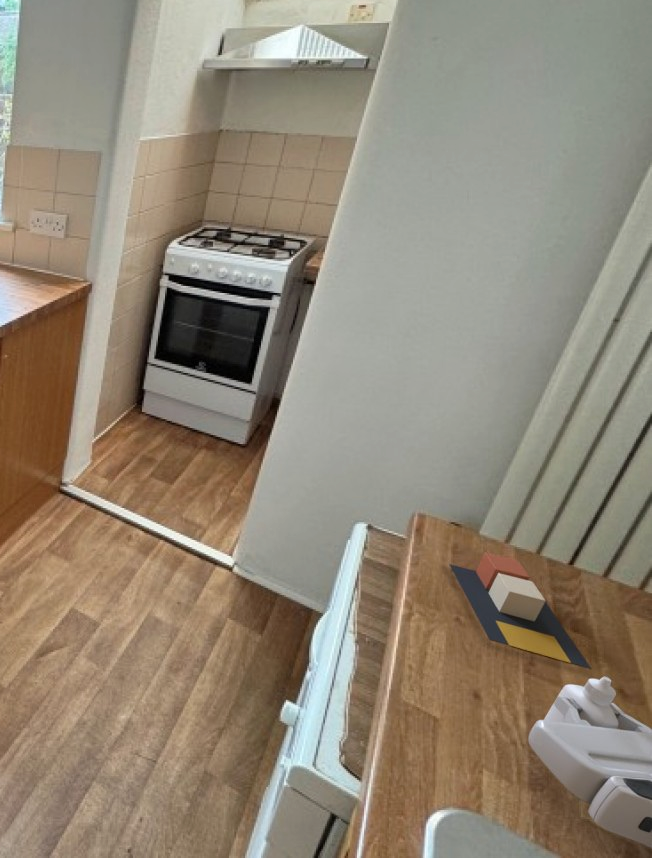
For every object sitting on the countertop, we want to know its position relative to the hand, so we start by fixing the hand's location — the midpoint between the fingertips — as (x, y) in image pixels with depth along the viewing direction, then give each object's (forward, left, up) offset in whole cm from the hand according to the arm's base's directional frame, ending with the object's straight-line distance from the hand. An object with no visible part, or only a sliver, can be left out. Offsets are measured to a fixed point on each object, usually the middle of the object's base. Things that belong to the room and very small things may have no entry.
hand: (581, 702), depth 78 cm
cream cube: (-3, -25, -6) cm, 26 cm away
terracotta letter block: (-3, -31, -6) cm, 31 cm away
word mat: (-3, -24, -7) cm, 25 cm away
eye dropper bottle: (0, +1, -7) cm, 7 cm away
